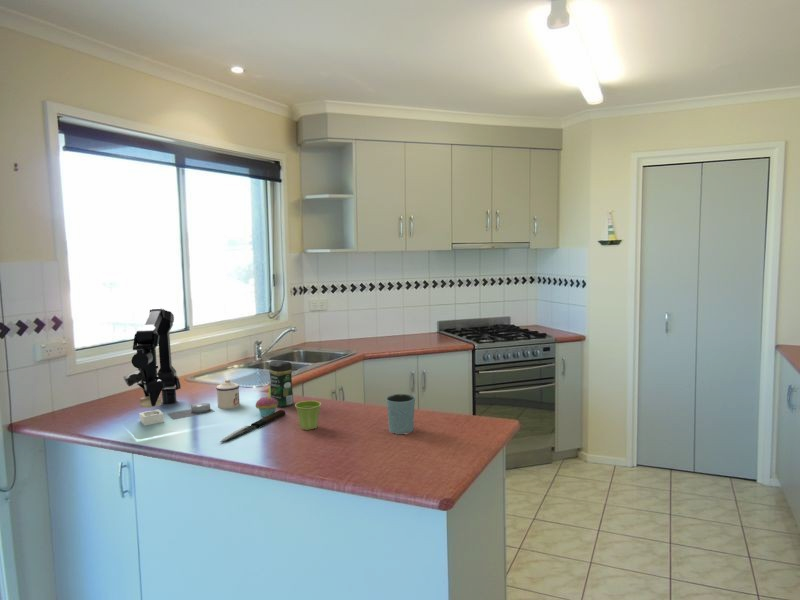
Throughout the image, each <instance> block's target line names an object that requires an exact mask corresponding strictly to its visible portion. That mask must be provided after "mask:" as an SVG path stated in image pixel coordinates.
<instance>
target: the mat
mask: <svg viewBox="0 0 800 600" xmlns="http://www.w3.org/2000/svg"><path fill="white" fill-rule="evenodd" d="M214 412H215V410H214V409H212V408H211V407H210V411H208V412H203V413H193V412H191V408H190V409H184V410H180V411H174V412H169V413H166V415H167V416H168V417H170V419H172V421H173V420H179V419H183V418H189V417H193V416H199V415H200V416H201V415H203V414H204V415H205V414H209V413H214Z"/></svg>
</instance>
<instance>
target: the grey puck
mask: <svg viewBox="0 0 800 600" xmlns="http://www.w3.org/2000/svg"><path fill="white" fill-rule="evenodd" d="M210 408H211V403H209V402H197V403H193V404H191V408H190V409H191V412H193V413H203V412H208V411H210Z"/></svg>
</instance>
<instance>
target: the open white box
mask: <svg viewBox="0 0 800 600" xmlns="http://www.w3.org/2000/svg"><path fill="white" fill-rule="evenodd" d="M138 415H139V422H140V423H141V424H142V425H143V426H144V427H145V426H150V425H155V424H161V423H164V422H165V416H164V415H165V413H164V412H163V411H161V410H160V409H159V408H158V409H154V410H148V411H143V412H139V414H138Z"/></svg>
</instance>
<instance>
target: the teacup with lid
mask: <svg viewBox="0 0 800 600" xmlns="http://www.w3.org/2000/svg"><path fill="white" fill-rule="evenodd" d="M216 396H217V397H216V398H217V401H216V402H217V408H218V409H223V410H224V409H226V410H227V409H234V408H237V407H239V406H240V405H241V403H240V385H239V384H238V383H235V382H233V381H231V380H230V378H229V379H225V380H224V382H222V383H221V384H218V385H217V386H216Z"/></svg>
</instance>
